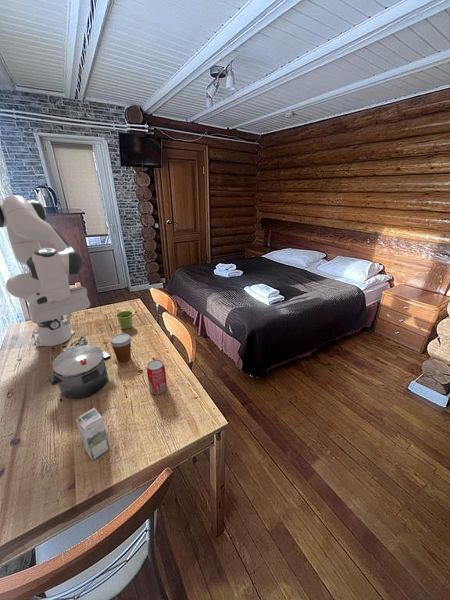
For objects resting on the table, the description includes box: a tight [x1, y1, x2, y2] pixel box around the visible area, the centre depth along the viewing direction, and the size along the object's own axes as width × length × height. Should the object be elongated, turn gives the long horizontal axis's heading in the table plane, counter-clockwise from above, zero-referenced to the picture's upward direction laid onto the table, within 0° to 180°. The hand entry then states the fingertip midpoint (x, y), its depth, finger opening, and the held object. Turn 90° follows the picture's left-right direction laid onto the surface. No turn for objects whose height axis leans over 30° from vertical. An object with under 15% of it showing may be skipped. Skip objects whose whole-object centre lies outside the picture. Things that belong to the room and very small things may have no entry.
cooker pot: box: [46, 350, 111, 401], centre depth 107 cm, size 19×23×11 cm
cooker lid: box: [52, 344, 104, 377], centre depth 105 cm, size 20×18×4 cm
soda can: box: [146, 359, 168, 395], centre depth 105 cm, size 7×7×13 cm
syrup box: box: [75, 407, 111, 461], centre depth 80 cm, size 6×6×14 cm
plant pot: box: [115, 310, 134, 330], centre depth 153 cm, size 9×9×9 cm
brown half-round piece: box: [68, 335, 89, 347], centre depth 123 cm, size 12×6×10 cm, turn 168°
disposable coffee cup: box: [109, 333, 132, 364], centre depth 124 cm, size 10×10×12 cm
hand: (65, 324), depth 102 cm, fingers closed
